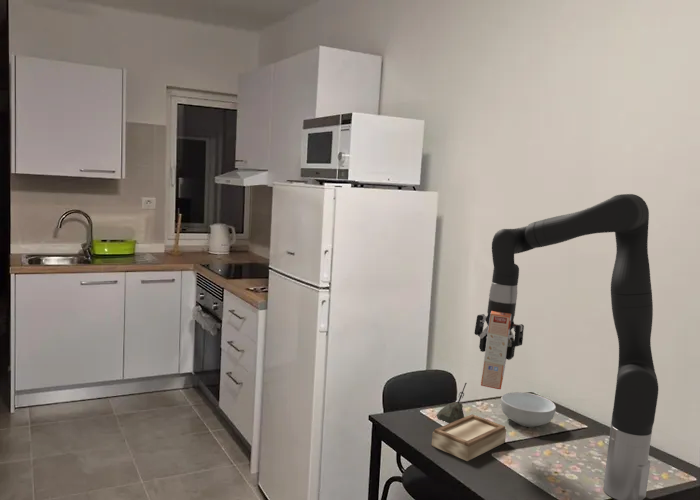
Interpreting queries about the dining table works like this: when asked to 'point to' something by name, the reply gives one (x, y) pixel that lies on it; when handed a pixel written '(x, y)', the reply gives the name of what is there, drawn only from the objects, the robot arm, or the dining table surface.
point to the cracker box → (496, 349)
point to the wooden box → (469, 437)
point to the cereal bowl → (527, 408)
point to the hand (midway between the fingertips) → (495, 355)
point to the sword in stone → (452, 411)
